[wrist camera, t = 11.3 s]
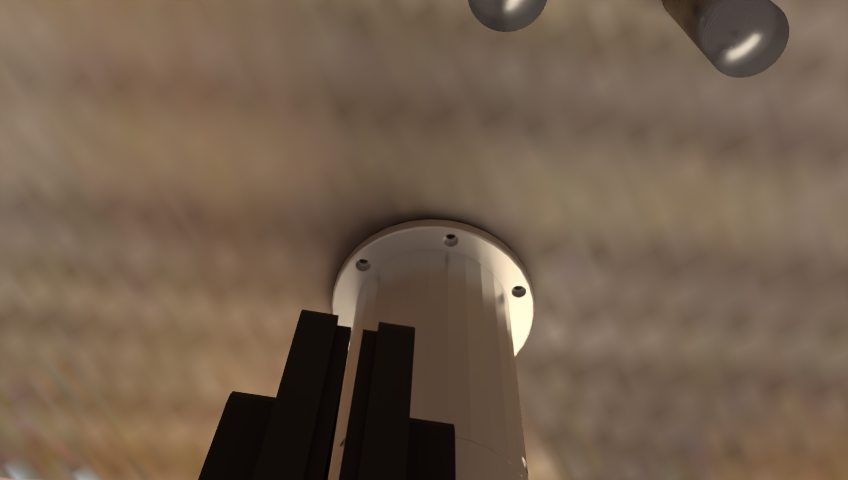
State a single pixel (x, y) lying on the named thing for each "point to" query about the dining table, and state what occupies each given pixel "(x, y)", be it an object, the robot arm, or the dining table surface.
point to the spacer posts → (685, 28)
